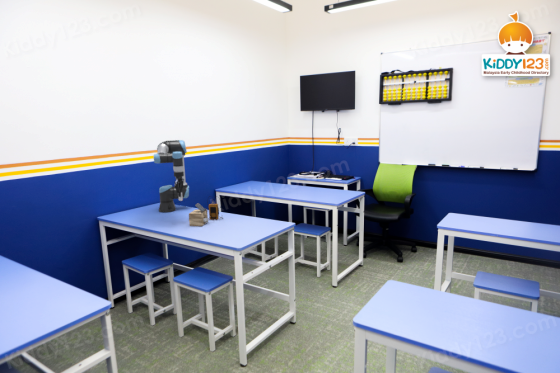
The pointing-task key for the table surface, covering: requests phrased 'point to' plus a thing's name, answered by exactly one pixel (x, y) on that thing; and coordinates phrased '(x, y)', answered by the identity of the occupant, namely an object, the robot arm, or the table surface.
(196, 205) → the keeper flap
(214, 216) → the multimeter
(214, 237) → the table surface
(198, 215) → the hitch block
